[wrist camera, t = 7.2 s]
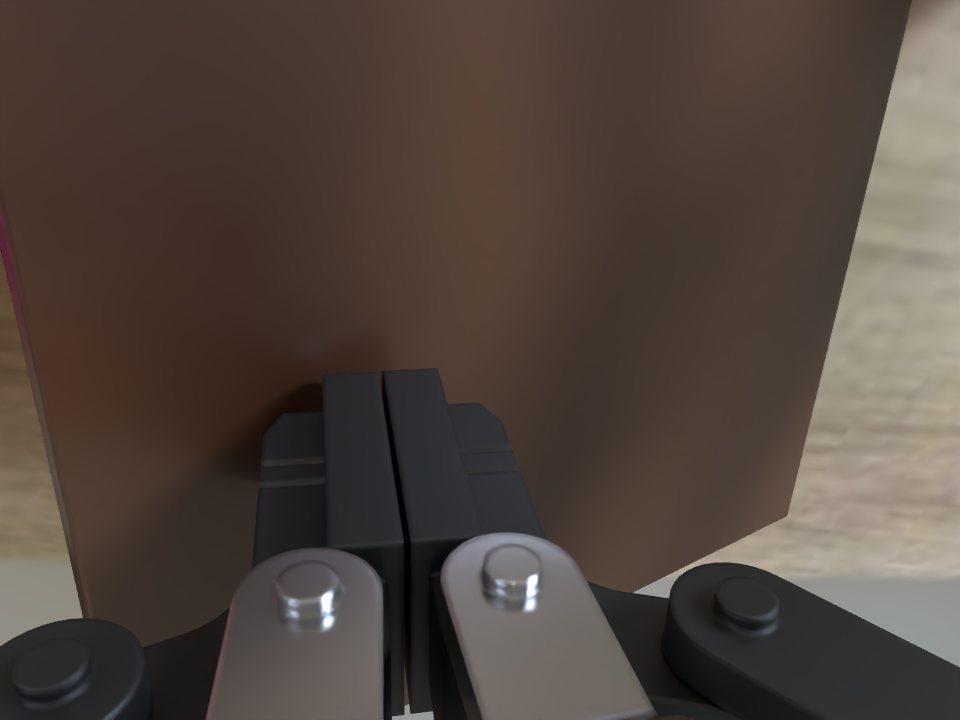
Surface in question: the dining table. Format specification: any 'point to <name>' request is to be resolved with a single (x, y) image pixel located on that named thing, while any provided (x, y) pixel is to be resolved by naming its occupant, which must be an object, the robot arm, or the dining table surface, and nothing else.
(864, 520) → the dining table surface
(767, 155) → the lid
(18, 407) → the dining table surface
